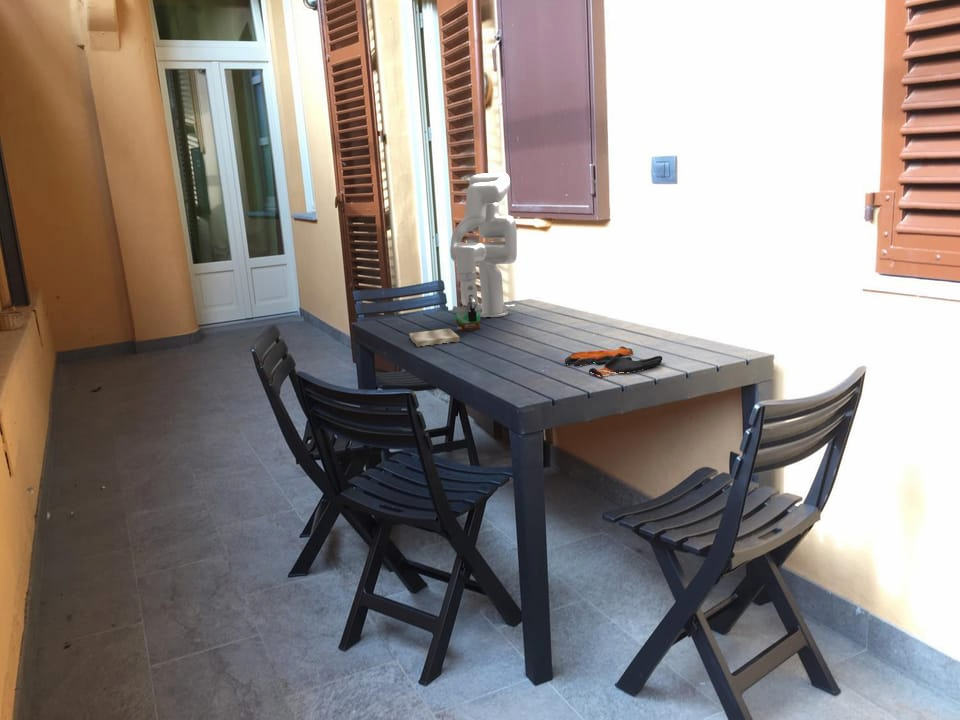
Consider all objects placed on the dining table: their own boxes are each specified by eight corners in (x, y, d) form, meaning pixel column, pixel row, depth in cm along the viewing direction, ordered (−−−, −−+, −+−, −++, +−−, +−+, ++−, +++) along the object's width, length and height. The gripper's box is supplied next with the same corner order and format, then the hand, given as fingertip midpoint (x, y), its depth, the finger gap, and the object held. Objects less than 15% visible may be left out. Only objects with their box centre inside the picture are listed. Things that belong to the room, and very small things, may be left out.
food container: (459, 333, 308) (457, 308, 306) (454, 330, 314) (452, 306, 311) (488, 328, 312) (486, 304, 310) (482, 326, 318) (480, 302, 316)
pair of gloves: (556, 363, 251) (555, 353, 251) (620, 351, 261) (620, 341, 260) (603, 381, 227) (602, 369, 226) (672, 367, 236) (672, 356, 235)
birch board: (450, 333, 309) (449, 328, 309) (459, 341, 292) (459, 336, 292) (410, 338, 306) (409, 333, 305) (417, 347, 289) (416, 341, 288)
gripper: (481, 278, 300) (484, 322, 304) (471, 274, 317) (474, 315, 321) (462, 279, 299) (465, 324, 303) (453, 275, 315) (456, 317, 319)
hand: (470, 319), depth 312 cm, fingers open, 9 cm apart
